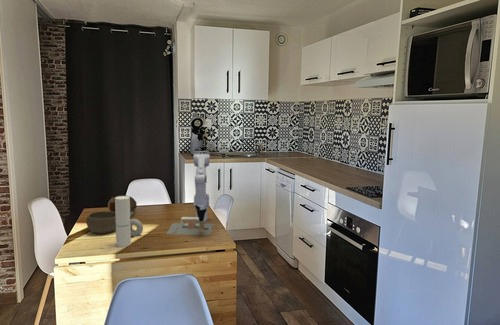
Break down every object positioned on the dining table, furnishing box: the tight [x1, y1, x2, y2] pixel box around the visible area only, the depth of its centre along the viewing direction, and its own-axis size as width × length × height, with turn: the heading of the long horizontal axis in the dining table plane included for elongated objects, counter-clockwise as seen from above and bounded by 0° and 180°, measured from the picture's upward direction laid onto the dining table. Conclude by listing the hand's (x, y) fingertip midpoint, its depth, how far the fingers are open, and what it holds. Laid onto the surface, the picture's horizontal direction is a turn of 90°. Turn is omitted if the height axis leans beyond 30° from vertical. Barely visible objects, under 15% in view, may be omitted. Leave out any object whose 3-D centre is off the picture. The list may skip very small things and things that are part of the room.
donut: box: [130, 218, 144, 237], centre depth 204 cm, size 10×4×10 cm, turn 79°
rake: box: [198, 222, 208, 234], centre depth 212 cm, size 10×6×7 cm, turn 1°
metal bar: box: [171, 226, 178, 235], centre depth 213 cm, size 10×2×1 cm, turn 1°
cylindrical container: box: [115, 195, 132, 248], centre depth 190 cm, size 7×7×25 cm
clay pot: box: [107, 194, 138, 217], centre depth 246 cm, size 15×15×25 cm
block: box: [187, 220, 197, 229], centre depth 219 cm, size 4×4×4 cm
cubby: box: [165, 216, 214, 236], centre depth 217 cm, size 21×25×6 cm
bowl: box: [86, 210, 116, 235], centre depth 211 cm, size 17×18×10 cm
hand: (200, 219), depth 207 cm, fingers open, 7 cm apart
